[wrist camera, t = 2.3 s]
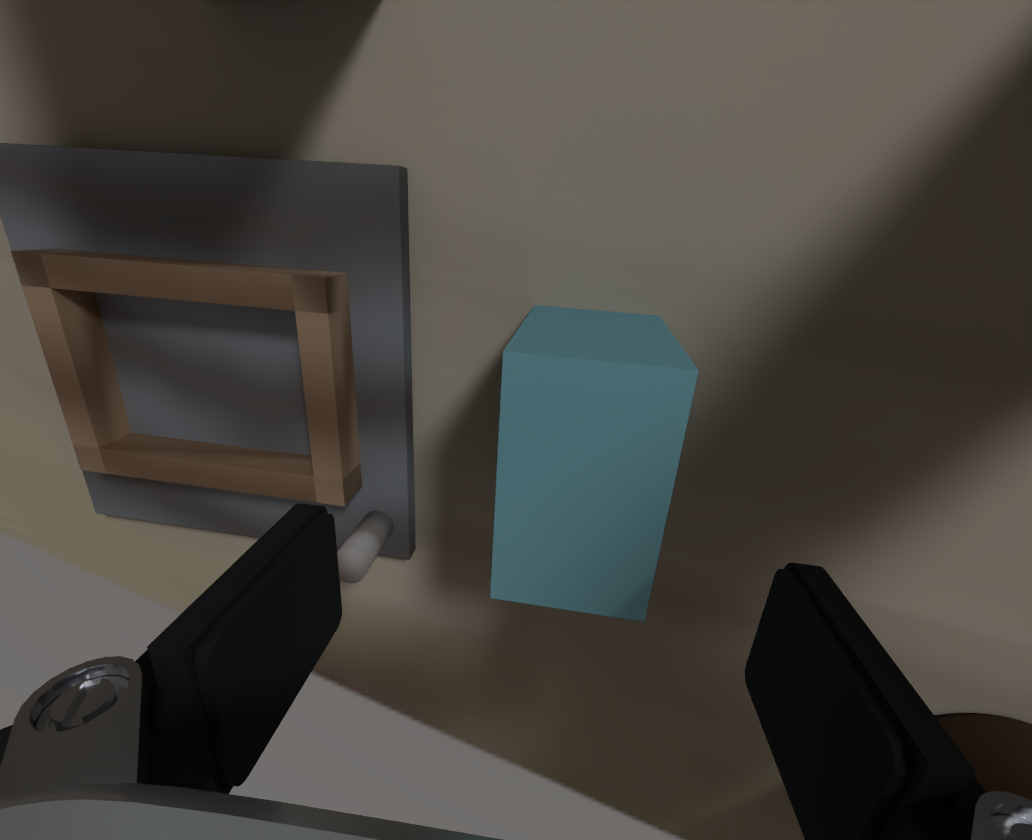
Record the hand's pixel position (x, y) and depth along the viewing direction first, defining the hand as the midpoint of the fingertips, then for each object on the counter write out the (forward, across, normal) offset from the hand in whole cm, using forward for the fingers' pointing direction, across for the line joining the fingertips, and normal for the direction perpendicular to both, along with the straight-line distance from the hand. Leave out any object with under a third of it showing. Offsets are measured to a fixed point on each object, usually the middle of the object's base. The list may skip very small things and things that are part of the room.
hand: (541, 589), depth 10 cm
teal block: (+10, -1, -1) cm, 10 cm away
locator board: (+10, +14, -1) cm, 17 cm away
